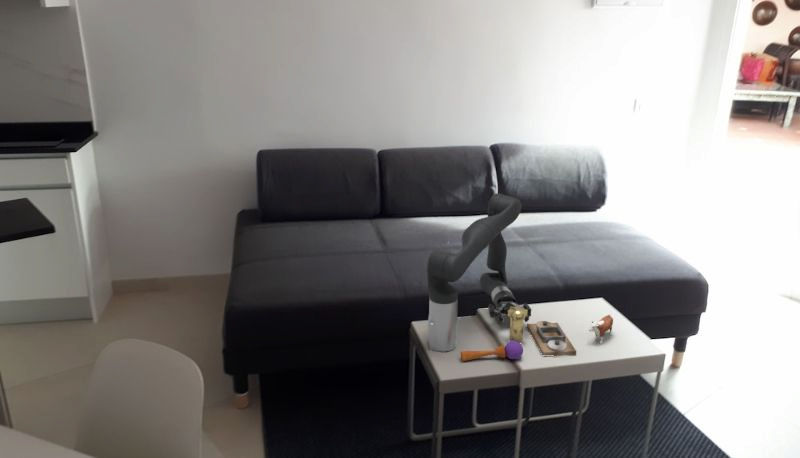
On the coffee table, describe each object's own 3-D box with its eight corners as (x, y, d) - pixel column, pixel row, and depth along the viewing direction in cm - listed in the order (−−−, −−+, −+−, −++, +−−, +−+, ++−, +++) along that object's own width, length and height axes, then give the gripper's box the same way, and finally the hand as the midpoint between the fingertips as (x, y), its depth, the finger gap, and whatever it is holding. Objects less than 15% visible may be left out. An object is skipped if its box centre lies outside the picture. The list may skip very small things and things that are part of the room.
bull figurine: (584, 344, 211) (587, 322, 209) (604, 330, 220) (606, 309, 218) (596, 348, 208) (599, 326, 206) (615, 334, 217) (618, 313, 215)
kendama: (459, 344, 204) (519, 337, 205) (460, 361, 205) (520, 354, 206) (462, 350, 198) (524, 343, 199) (464, 368, 199) (525, 361, 200)
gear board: (542, 356, 204) (543, 346, 202) (526, 327, 222) (527, 318, 221) (576, 355, 204) (577, 345, 203) (557, 326, 223) (557, 317, 222)
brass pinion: (508, 347, 210) (510, 314, 206) (504, 338, 215) (505, 306, 211) (527, 346, 210) (529, 313, 206) (522, 337, 216) (524, 305, 212)
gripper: (484, 290, 227) (494, 310, 211) (523, 289, 228) (535, 309, 212) (483, 309, 229) (493, 330, 214) (522, 308, 230) (534, 328, 215)
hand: (514, 319), depth 213 cm, fingers open, 8 cm apart
